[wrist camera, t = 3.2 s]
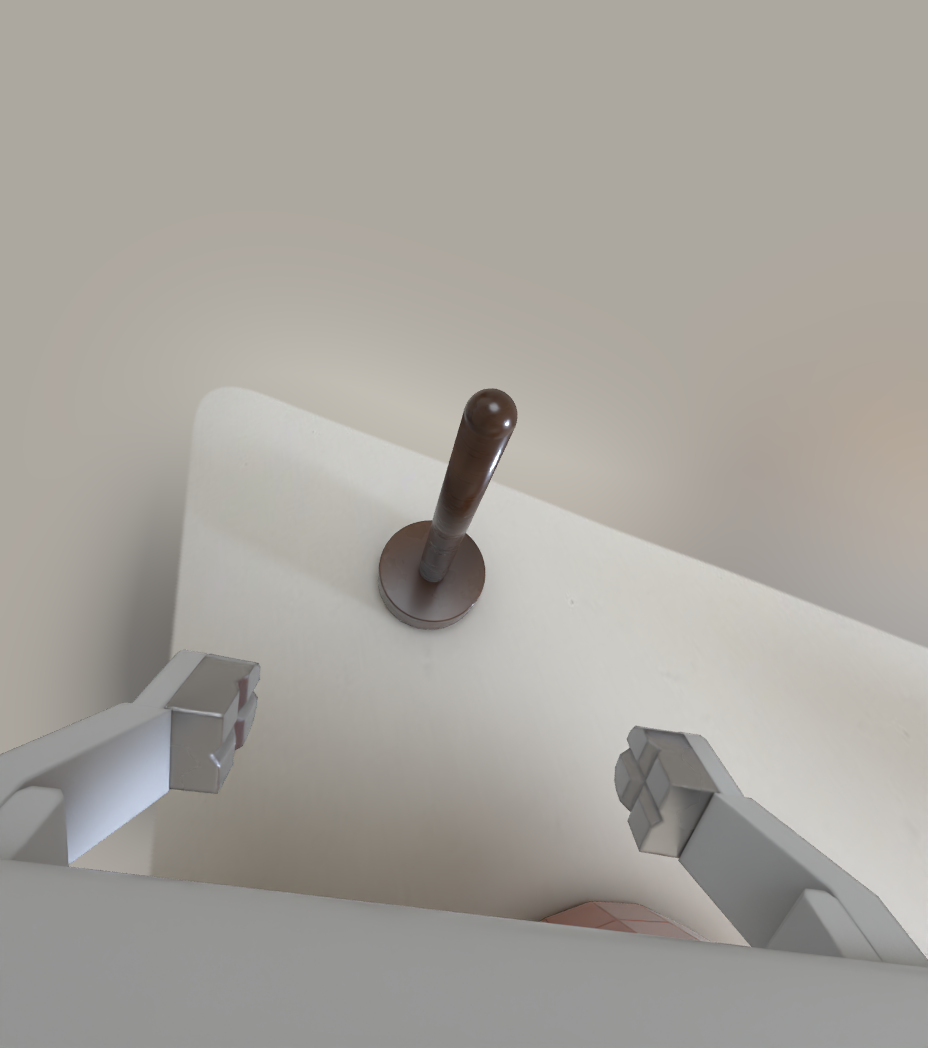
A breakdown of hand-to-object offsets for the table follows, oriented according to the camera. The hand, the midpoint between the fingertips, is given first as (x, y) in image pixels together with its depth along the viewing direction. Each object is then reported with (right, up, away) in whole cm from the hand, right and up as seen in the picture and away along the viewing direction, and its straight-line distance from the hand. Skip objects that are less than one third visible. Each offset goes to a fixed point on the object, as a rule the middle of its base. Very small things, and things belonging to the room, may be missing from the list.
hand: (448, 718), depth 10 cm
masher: (-2, +1, +18) cm, 18 cm away
